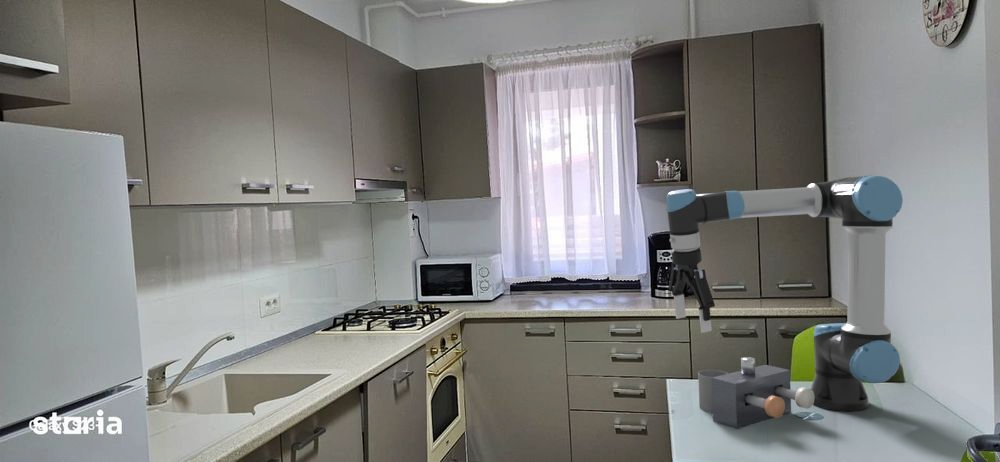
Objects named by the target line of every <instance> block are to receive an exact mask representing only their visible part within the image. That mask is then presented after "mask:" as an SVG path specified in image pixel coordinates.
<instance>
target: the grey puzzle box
mask: <svg viewBox="0 0 1000 462" xmlns="http://www.w3.org/2000/svg"><path fill="white" fill-rule="evenodd" d="M775 386H778V387H782V388H786V389H790V390H792V389H791V369H786V368H782V367H779V366H773V365H770V364H763V365H758V366H755V374H753V375H746V374H742V373H741V370H738V371H734V372H730V373H729V372H728V374H725V375H721V376H716V377H712V402H713V412H712V421H713V422H715V423H717V424H721V425H724V426H725V427H726V426H727V427H729V428H733V429H735V430H738V429H742V428H745V427H748V426H752V425H755V424H758V423H762V422H765V421H769V420H772V419H774V418H775V417H772V416H769V415H767V413H766V411H765V409H764V408H761V407H757V406H754V405H751V404H747V403H745V395H746V394H749V395H752V396H756V397H760V398H763V399H767V398H768V397H769V396H772V395H773V396H777V397H781V398H782V399H783V400H784V402H785V410H784V413H783V415H782V416H785V415H788V414H791V413H792V399H789V398H786V397H782V396H778V395H775ZM775 419H776V418H775Z"/></svg>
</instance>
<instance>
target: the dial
mask: <svg viewBox="0 0 1000 462" xmlns="http://www.w3.org/2000/svg"><path fill="white" fill-rule="evenodd" d="M740 366H741V368H740V371H741V373H742V374H746V375H753V374H755V367H756V358H755V357H749V356H748V357H747V356H746V357H745V356H744V357H741V358H740Z"/></svg>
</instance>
